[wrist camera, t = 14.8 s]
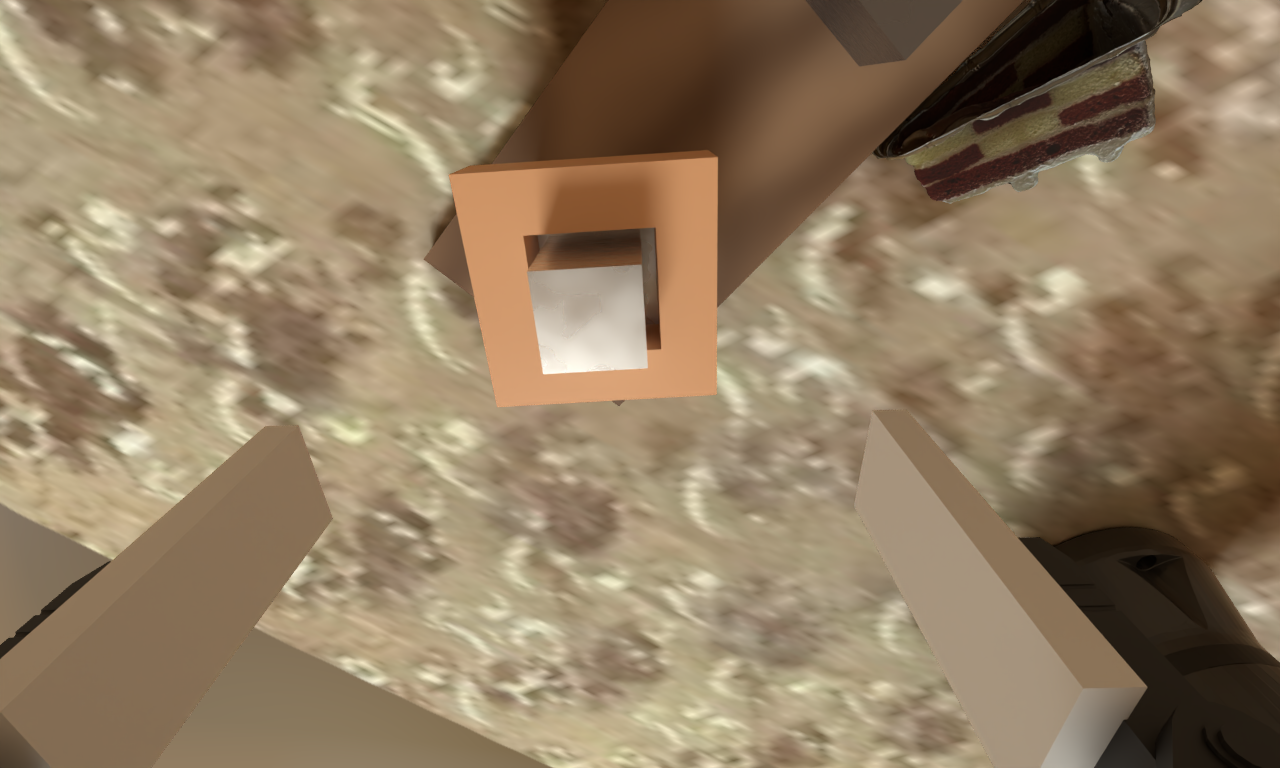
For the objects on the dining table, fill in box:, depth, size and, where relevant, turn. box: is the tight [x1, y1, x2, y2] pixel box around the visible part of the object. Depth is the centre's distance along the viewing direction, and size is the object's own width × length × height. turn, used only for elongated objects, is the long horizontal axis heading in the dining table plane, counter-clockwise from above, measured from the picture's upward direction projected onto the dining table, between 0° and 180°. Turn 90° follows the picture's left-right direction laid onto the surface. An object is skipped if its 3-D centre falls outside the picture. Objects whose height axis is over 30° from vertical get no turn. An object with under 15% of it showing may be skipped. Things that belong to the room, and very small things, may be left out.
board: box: [424, 0, 1024, 406], centre depth 27 cm, size 14×32×2 cm, turn 138°
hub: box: [527, 228, 659, 374], centre depth 25 cm, size 7×7×11 cm
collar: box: [449, 150, 718, 407], centre depth 24 cm, size 10×10×3 cm
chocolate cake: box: [872, 0, 1202, 203], centre depth 27 cm, size 10×7×12 cm
